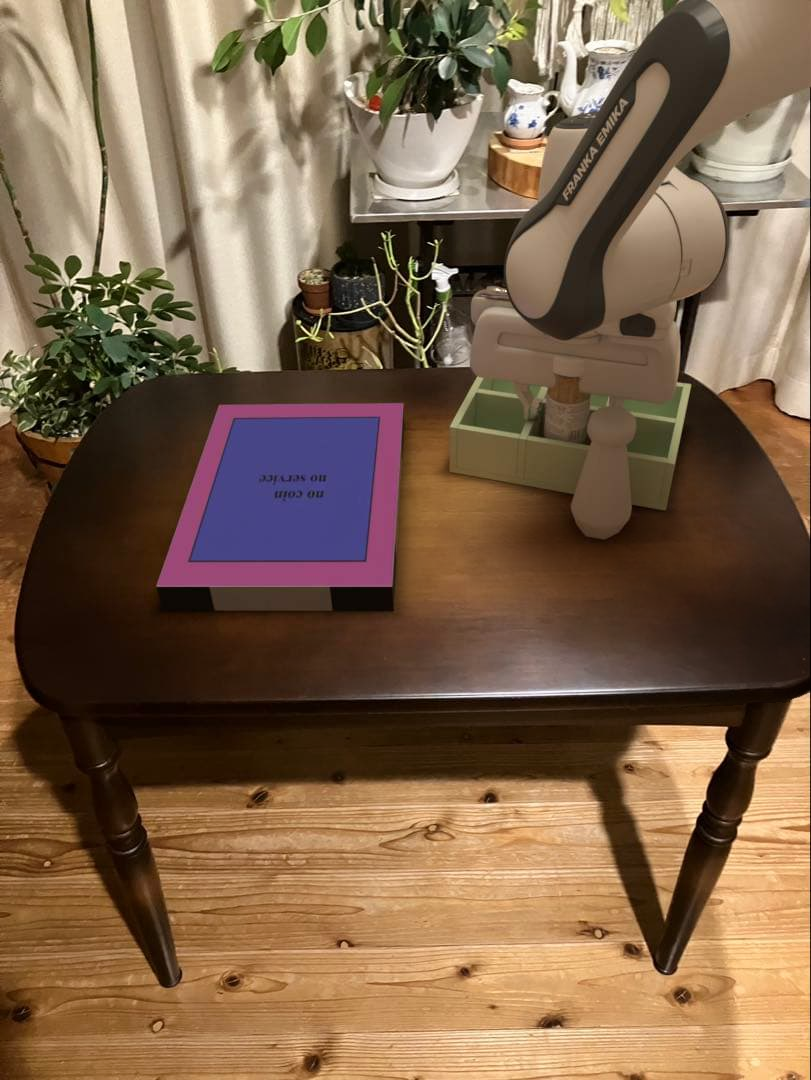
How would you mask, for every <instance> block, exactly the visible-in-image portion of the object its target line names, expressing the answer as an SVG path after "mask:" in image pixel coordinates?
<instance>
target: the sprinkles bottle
mask: <svg viewBox="0 0 811 1080" xmlns="http://www.w3.org/2000/svg"><path fill="white" fill-rule="evenodd" d="M584 366H585V361H584V360H582V359H579V358H572V357H564V356H555V357H554V361H553V372H555V373H556V374H555V375H554V376H555V378H556V380H555V381H556V382H555V386H554V388H548V390H547V397H546V410H545V423H544V438H547V439H553V440H559V441H565V442H571V443H577V444H583V445H585V439H586V435H587V426H588V418H589V409H590V400H591V394H589V393H582V392H580V390H579V381H580V380H581V378H579V377H580V376H583V375H584Z"/></svg>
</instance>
